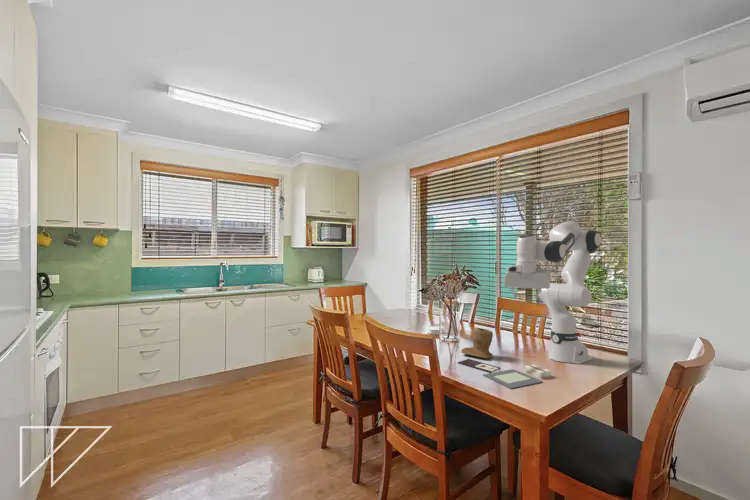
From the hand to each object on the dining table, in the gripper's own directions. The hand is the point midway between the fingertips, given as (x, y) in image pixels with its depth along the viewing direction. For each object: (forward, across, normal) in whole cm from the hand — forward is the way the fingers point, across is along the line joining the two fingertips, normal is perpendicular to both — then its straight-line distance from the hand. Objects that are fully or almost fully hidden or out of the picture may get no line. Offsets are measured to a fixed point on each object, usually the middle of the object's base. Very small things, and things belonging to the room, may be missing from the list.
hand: (526, 297), depth 171 cm
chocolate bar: (+35, +21, +3) cm, 41 cm away
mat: (+34, +5, +15) cm, 38 cm away
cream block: (+35, -5, +4) cm, 35 cm away
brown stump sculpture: (+35, +24, -14) cm, 44 cm away
